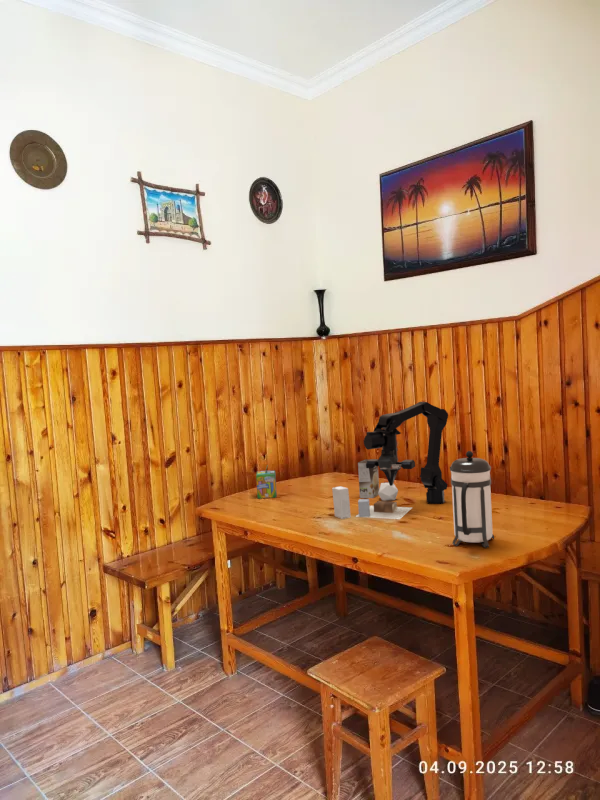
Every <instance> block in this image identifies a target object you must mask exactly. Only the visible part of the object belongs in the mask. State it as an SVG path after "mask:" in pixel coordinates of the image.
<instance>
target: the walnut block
mask: <svg viewBox="0 0 600 800" xmlns="http://www.w3.org/2000/svg"><path fill="white" fill-rule="evenodd" d="M373 506H374V512H386V513H394V512H395V511H396V510H397V507H398V503H397V501H382V500H381V501H380V500H378V501H376V502H374V503H373Z"/></svg>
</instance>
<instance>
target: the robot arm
mask: <svg viewBox="0 0 600 800" xmlns="http://www.w3.org/2000/svg"><path fill="white" fill-rule="evenodd" d="M419 415H422V416H424V417H426V422H427V423H426V424H427V425H428V428H429V436H428V447H427V455H426V456H427V458H426V464H425V466H424V467H420V475H419V477H420V482H421V483H422V484H423V486H424V487H423V488H424V489H426V490H427V492H425V493H426V494H425V495H426V498H425V499H426V504H429V505H444V503H445V502H446V500H445V490H447V488H448V483H447V482H446V481H445V480H444V479H443V475H442V474H443V473H442V470H441V468H440V455H441V447H442V435H443V430H444V428H445V427H446V425H447V422H448V419H449V413H448V412H447V411H446V409H445V408H439V407H438V406H436V405H433V404H431V403H430V402H428V401H418V402H417V403H415V404H413V405H411V406H409V407H406V408H404V409H402V410H400V411H395V412H391V413H386V414H381V415H380V416H379V417H378V418H379V419H378V422H377V424H376V425H375V427H374V429H373V431H366V432H365V433H366V435H365V436H364V438H363V446H364V448H365V449H366V450H368V451H369V450H375V449H381V451H380V452H381V453H380V456H379V458H377V459H375V458H371V459H370V460H369V459H368V461H367V462H366V468H374V467H375V466H378V469H379V471H382V472H383V473H384V475H385V477H386V479H387V481H388V482H387V483H389V484H390V486H392V485H393V483H394V482H395V479H396V477H397V474H398V472H399V471H400V470H401V469H403V470H412V469H414V468H415V467H416V462H415V460H414V459H404V460H402V461H399V458H398V451H399V449H398V448H397V447H398V445H397V444H398V443H397V435H400V434H402V433H401V432H400V431H399V430H398V428H399V427H400V426H401V425H402V424H403V423H404V422H406V421H407V420H411V419H412V418H415V417H417V416H419ZM394 484H395V483H394Z"/></svg>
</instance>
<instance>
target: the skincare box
mask: <svg viewBox="0 0 600 800" xmlns="http://www.w3.org/2000/svg"><path fill="white" fill-rule="evenodd" d="M331 489H332V501H333V502H332V503H333V509H334V517H335V518H339V519H341V520H345V519H349V518H351V517H352V516H351V504H350V494H349V488H348V487H345V486H335V487H332V488H331Z"/></svg>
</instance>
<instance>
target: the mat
mask: <svg viewBox="0 0 600 800" xmlns="http://www.w3.org/2000/svg"><path fill="white" fill-rule="evenodd" d="M412 509H413V507H406V506H397V510H396V511H395V512H394V513H386V512H374V505H370V516H369V517H367V518H370V519H389V520H401V519H402V518H403V517H404V516H405V515H407V513H408V512H410V511H411V510H412ZM355 518H360V517H359V513H358V514H356V516H355Z"/></svg>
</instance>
